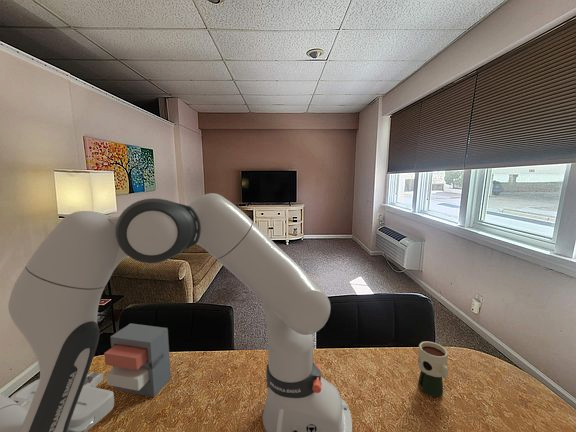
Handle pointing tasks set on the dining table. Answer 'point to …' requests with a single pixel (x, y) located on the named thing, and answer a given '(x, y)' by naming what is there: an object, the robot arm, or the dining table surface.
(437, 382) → the character mug
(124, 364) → the red button
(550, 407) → the dining table surface
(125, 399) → the dining table surface
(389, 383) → the dining table surface
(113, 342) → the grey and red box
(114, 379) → the pale button
